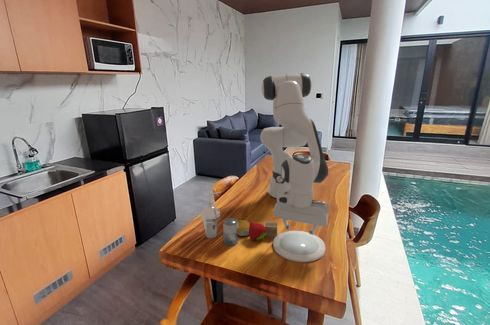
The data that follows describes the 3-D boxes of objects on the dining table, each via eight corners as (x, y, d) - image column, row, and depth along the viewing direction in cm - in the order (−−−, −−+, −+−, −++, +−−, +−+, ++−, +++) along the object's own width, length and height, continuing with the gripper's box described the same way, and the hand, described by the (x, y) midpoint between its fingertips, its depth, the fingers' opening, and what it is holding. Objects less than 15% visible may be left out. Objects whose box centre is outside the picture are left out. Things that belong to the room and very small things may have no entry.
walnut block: (265, 231, 115) (265, 221, 113) (277, 232, 114) (277, 221, 113) (265, 237, 110) (265, 226, 109) (277, 238, 109) (277, 227, 108)
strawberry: (241, 225, 108) (254, 245, 102) (255, 214, 108) (269, 233, 103) (245, 229, 113) (258, 248, 107) (259, 219, 113) (272, 237, 107)
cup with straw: (207, 229, 117) (205, 187, 112) (225, 232, 114) (224, 189, 109) (197, 238, 110) (194, 193, 104) (216, 242, 106) (214, 196, 101)
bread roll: (249, 224, 119) (249, 216, 118) (254, 235, 111) (254, 227, 110) (231, 226, 118) (231, 218, 117) (235, 237, 110) (235, 228, 108)
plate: (281, 229, 116) (282, 226, 115) (328, 239, 108) (329, 236, 107) (265, 253, 98) (265, 250, 98) (320, 267, 90) (320, 264, 90)
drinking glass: (227, 236, 111) (227, 216, 108) (240, 239, 108) (240, 219, 106) (220, 243, 105) (220, 223, 103) (234, 247, 103) (234, 226, 100)
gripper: (330, 199, 96) (328, 233, 100) (277, 191, 105) (277, 222, 108) (328, 206, 91) (325, 241, 94) (272, 197, 99) (272, 229, 103)
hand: (299, 231), depth 101 cm, fingers open, 8 cm apart
